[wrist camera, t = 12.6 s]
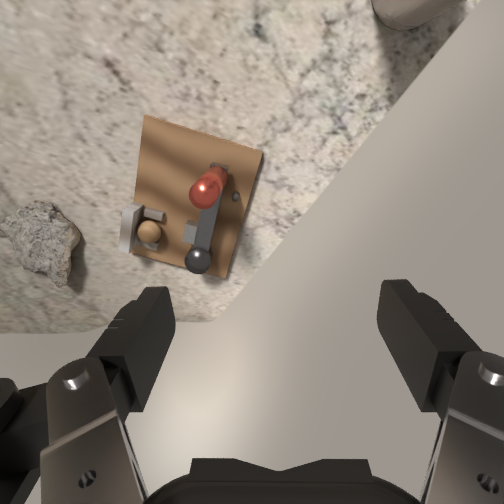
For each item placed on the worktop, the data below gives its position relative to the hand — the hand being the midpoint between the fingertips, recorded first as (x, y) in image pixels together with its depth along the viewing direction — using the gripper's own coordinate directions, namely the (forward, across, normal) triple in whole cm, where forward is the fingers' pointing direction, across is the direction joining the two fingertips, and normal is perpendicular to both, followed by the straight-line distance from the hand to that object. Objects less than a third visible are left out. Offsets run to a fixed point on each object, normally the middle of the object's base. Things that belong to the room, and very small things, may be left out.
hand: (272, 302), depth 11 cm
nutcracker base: (+36, +12, +6) cm, 39 cm away
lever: (+33, +10, +8) cm, 36 cm away
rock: (+37, +39, +12) cm, 55 cm away
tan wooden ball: (+35, +19, +9) cm, 41 cm away
